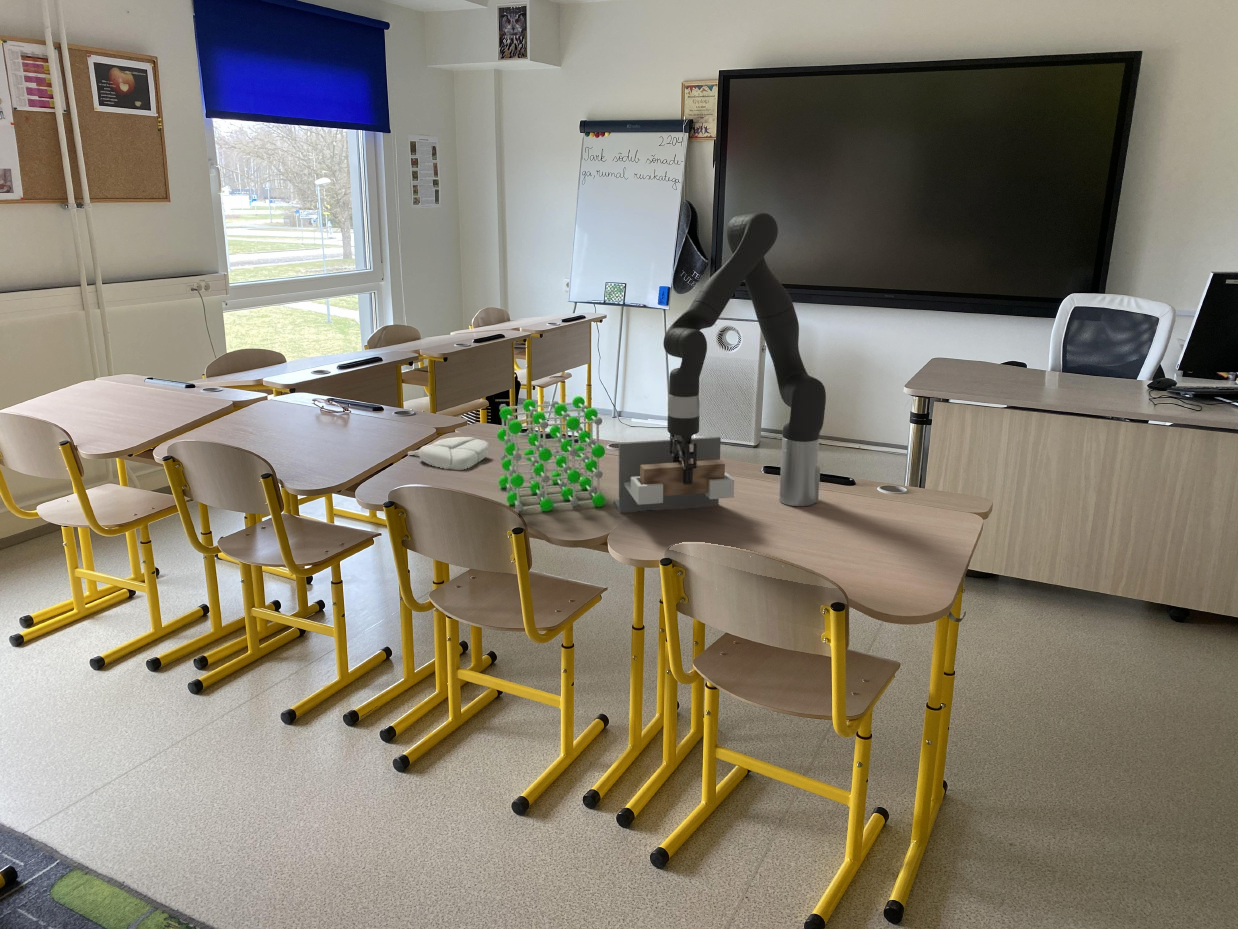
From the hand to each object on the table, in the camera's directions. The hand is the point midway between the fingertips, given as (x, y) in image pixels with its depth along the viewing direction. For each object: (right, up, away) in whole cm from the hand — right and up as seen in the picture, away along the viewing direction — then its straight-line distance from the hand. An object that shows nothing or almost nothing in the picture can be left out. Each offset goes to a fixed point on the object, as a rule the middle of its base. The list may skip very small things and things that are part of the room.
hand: (682, 478), depth 220 cm
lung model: (-68, +4, +56) cm, 88 cm away
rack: (-2, -9, +10) cm, 13 cm away
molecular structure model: (-33, -5, +23) cm, 41 cm away
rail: (0, -3, +1) cm, 3 cm away
